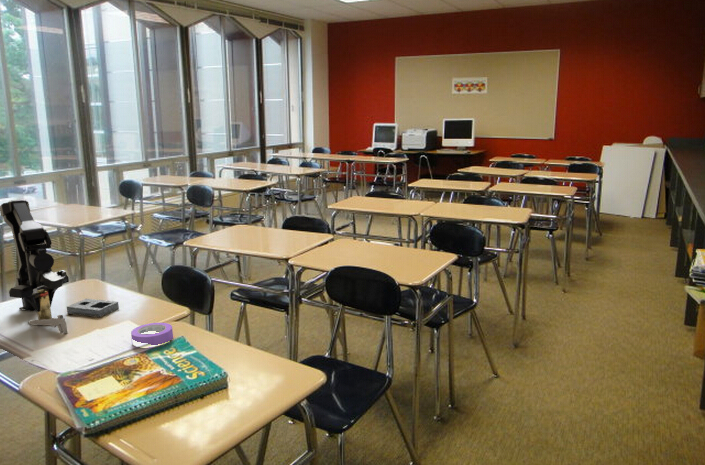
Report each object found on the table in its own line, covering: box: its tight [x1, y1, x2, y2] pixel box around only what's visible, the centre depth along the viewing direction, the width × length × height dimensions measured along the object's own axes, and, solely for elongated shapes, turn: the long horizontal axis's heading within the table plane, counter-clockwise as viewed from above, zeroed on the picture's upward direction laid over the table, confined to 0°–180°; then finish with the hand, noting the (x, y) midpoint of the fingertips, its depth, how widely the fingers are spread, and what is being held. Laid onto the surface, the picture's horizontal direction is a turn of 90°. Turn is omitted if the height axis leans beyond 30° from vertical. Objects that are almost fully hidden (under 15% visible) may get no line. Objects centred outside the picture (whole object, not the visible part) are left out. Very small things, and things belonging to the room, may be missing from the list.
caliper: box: [27, 314, 68, 335], centre depth 172 cm, size 20×1×6 cm, turn 60°
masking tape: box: [130, 322, 174, 345], centre depth 161 cm, size 12×12×4 cm
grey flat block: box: [66, 298, 120, 318], centre depth 187 cm, size 14×9×2 cm, turn 72°
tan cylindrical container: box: [36, 289, 53, 320], centre depth 179 cm, size 4×4×10 cm
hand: (43, 309), depth 180 cm, fingers closed on tan cylindrical container, 4 cm apart
